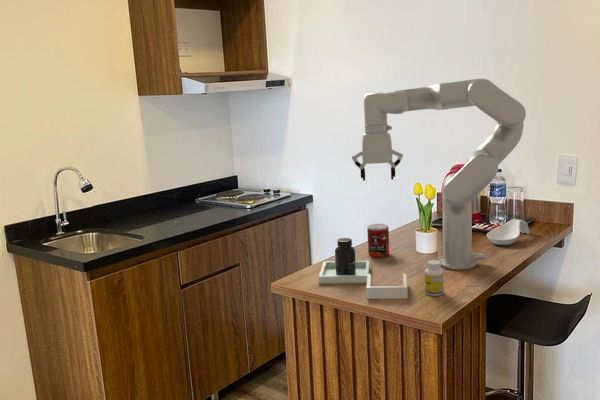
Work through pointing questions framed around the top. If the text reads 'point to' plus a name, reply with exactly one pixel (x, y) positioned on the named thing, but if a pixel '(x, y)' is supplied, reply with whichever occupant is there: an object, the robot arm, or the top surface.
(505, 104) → the robot arm
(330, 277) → the tray
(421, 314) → the top surface
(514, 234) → the spoon rest
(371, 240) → the canned food
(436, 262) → the supplement bottle
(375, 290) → the bay
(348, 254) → the supplement bottle
